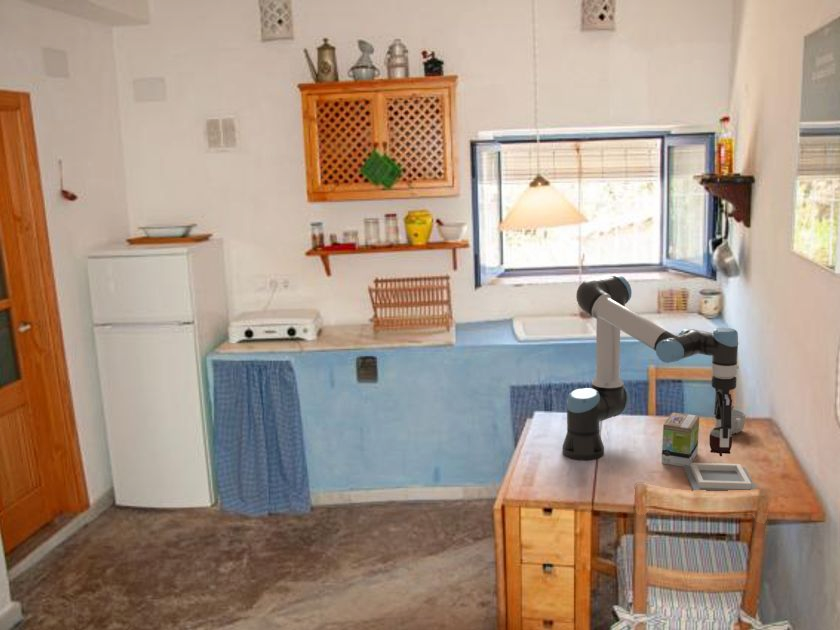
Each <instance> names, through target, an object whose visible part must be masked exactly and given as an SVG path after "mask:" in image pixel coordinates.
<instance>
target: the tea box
mask: <svg viewBox="0 0 840 630" xmlns="http://www.w3.org/2000/svg"><path fill="white" fill-rule="evenodd" d="M662 425H663V427H662V443H661V444H662V446H661V463H662V464H665V465H671V466H677V467H682V468H684V466H691V463H693V461H694V459H695V458H696V456H697V454H698V450H699V449H698V447H699V431H700V429H699V428H700V416H699V415H694V414H689V413H688V414H687V413H681V412H671V413H670V415H669V417H668V418H667V419H666V421H665V422H664V424H662Z"/></svg>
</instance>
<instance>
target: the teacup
mask: <svg viewBox="0 0 840 630" xmlns="http://www.w3.org/2000/svg"><path fill="white" fill-rule="evenodd" d="M746 415H747V414H746V412H744V411H743V410H739V409H734V408H733V409H732V411H731V429H729V430H730V432H731V434H732V435H735V433H736V434H739V433H740V432H742V431H743V430H744V428H745V423H746V422H745V421H746V417H747V416H746Z"/></svg>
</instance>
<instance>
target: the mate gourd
mask: <svg viewBox="0 0 840 630" xmlns="http://www.w3.org/2000/svg"><path fill="white" fill-rule="evenodd" d="M734 407H735V406H733V405H732V406H731V411H732V409H734ZM732 445H733V434H731V432H730V430H729V447H720V429H719V427H716V428H715V427H714V428H712V429H711V430H710V433H709V448H710V449H709V451H710V453H711V454H712V453H714V454H718V455H719V457H723V454H726V455H727V454H728V455H729V454H731V449H732Z"/></svg>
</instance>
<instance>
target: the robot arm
mask: <svg viewBox="0 0 840 630" xmlns="http://www.w3.org/2000/svg"><path fill="white" fill-rule="evenodd" d="M632 293H633V292H632V287H631V284H630V283H629V281H628V280H627V279H626V278H625V277H624V276H622V275H620V274H605V275H602V276H599V277H593V278H587V279H586V280H584V281H583V282H581V284H579V286H578V288H577V291H576V302H577V304H578V306H579V308H580V309H581V310H583V312H585V313H586V314H587V315H589V316H591V317H592V318H594V319H596V332H595V333H596V343H595V344H596V348H595V349H596V351H595V356H596V357H595V358H596V359H595V378H594V379H593V380H592V381H591V387H583V388H577V389H574V390H572V391H570V393H569V394H568V395H567V398H566V401H567V402H566V423H567V424H566V435H565V437H564V441H563V444H562V451H561V452H562V454H563V456H565V457H567V458H568V459H569V458H570V459H572V460H577V461H593V459H594V460H597V458H598V459H600V458H602V457H603V456H604V455H605V446H604V443H603V441H602V440H603V439H602V437H601V435H600V423H601V422H603V421H605V420H608V419H610V418H615V417H617V416H620V415H621V414H622V413H625V411H626V410H627V409H628V407H629V405H630V394H629V391H628V390H627V388H626V386H625V385H624V381H623V380H621V378H620V372H621V368H620V364H621V361H620V360H621V331H622V332H623V333H625V334H626V335H628V336H630V337H631V338H634V339H635V340H637V341H639V342H640V343H641V344H644V345H646V346H647V347H648V348H650V349H652V350H654V351H655V353H656V356H657V357H658V359H659V360H660V361H662V362H663V363H667V364H668V363H669V364H670V363H676V362H679V361H681V360H683V359H687V358H689V357H693V356H695V355H699V354H700V355H704V356H705V355H706V356H710V357H711V358H712V362H711V374H712V376H711V387H712V388H713V389H714V390H715V391H714V393H715V395H714V412H713V414H714V418H715V422H714V423H715V426H714V428H716V427H719V429H720V447H729V429H731V408H732V406H733V405H732V403H733V399H732V394H731V393H730V391H731V390H735V389H736V387H737V380H738V379H737V374H738V373H737V372H738V370H737V369H739V367H740V366H739V365H738V349H739V348H738V347H739V334H738V331H737V330H736V329H734V328H732V327H717V328H715V329H713V332H709V331H704V330H698V329H695V328H694V329H693V328H691V329H690V328H684V329H681V331H680V332H679V333H678V335H675V334H673V333H671V332H669V331H667V330H666V329H664V328H662V327H660V326H659V325H657V324H655V323H653V322H652V321H650V320H649V319H647V318H645V317H643V316H641V315H640V314H638V313H636V312H634V310H631V309H629V308H628V307H626V305H627V303H629V301H631V298H632V295H633V294H632Z"/></svg>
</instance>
